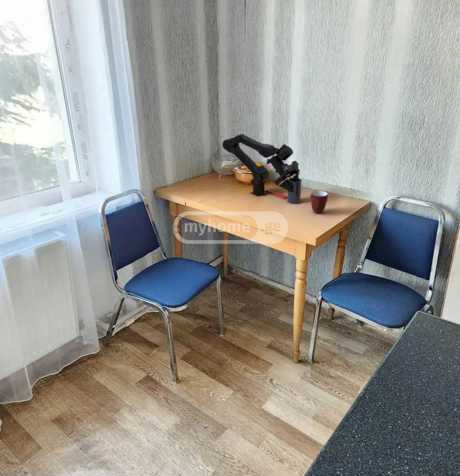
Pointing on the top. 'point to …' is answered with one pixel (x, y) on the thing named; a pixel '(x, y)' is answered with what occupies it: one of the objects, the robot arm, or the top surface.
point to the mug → (318, 201)
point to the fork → (277, 194)
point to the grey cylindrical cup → (294, 191)
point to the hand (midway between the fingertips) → (296, 189)
